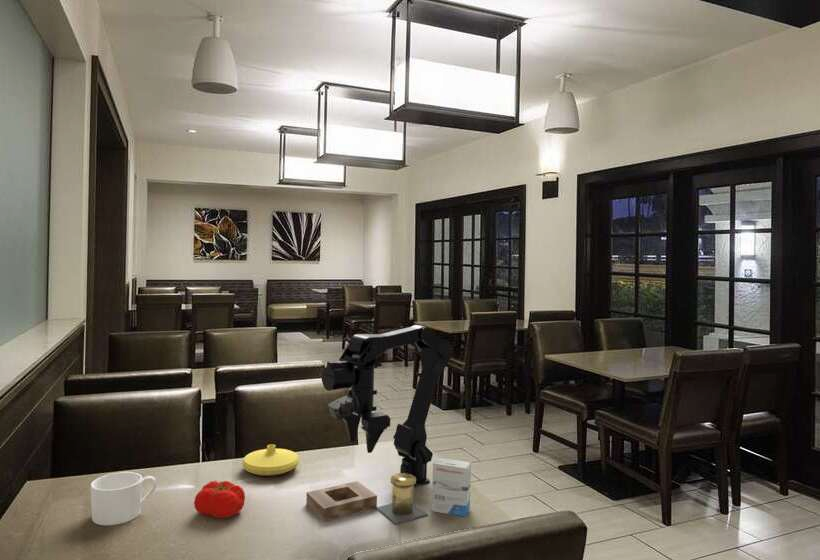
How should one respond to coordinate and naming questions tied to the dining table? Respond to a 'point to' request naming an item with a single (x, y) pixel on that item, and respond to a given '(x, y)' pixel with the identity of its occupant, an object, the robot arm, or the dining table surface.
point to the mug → (118, 497)
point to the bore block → (355, 502)
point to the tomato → (220, 499)
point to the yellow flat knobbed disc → (270, 461)
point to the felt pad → (397, 519)
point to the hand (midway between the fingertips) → (360, 446)
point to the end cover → (402, 493)
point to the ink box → (451, 487)
